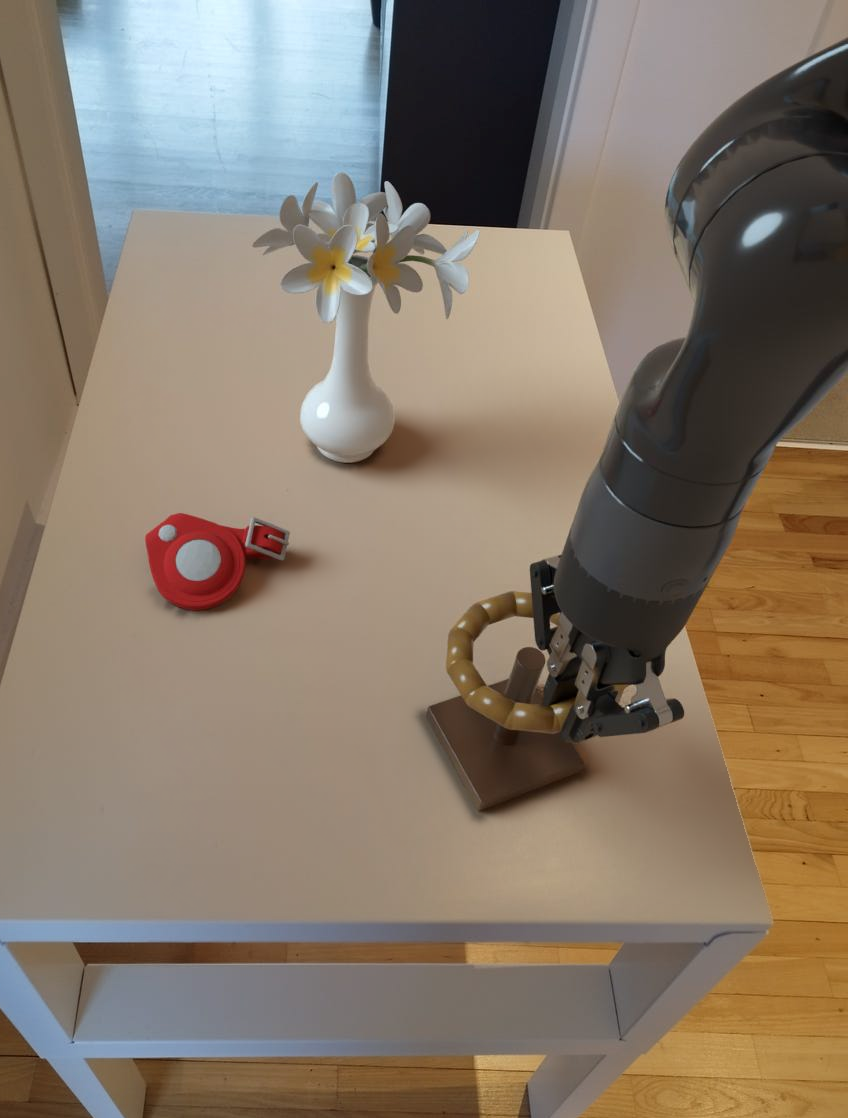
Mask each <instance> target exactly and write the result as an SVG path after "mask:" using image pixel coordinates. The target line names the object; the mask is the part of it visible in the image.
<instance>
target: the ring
mask: <svg viewBox="0 0 848 1118" xmlns="http://www.w3.org/2000/svg"><path fill="white" fill-rule="evenodd" d="M559 616H560V613H557V614H554V615H552V616H551V617H550V623H552V624H553V625H555V626H556V627H557V626H558V625H559V623H558V618H559ZM513 617H517V618H528V619H533V606H532V593H531V592H526V591H517V590H512V591H507V592H503V593H500V594H498V595H495V596H493V597H492V596H491V597H488V598H486V599H483V600H480V601H477V602H474V603H473V604H472V605H471V606H470V607H469V608H468V609H467V610H466V611H465V612H464V614H463V615H461V617H460V618H459V619H458V621H456V623H455V624H454V625H453V626H452V627H451V628H450V629H449V632H448V635H447V648H446V659H445V660H446V664H445V670H446V673H447V674H448V677H449V678H450V679H451V681H452V683H453V685H454V686H455V688H456V690H457V691H458V693H459V695H461V696H462V698H463V699H464V701H465V702H466V704H467V705H468V706H469V707H470V708H472V709H474V710H475V711H477V712H479V713H480V714H482V715H484V716H486V717H487V718H489V719H491V720H492V721H494V722H496V723H497V724H499V725H501V726H503V727H504V728H506V729H510V730H519V731H529V732H539V733H549V734H555V733H558V732H561V730H562V727H563V724H564V722H565V720H566V718H567V715H568V713H569V711H570V708H571V706H572V705H574V702H575V699H576V697H577V696H575V697H572V698H570V699H567V700H564V701H562V702H559V703H556V704H554V705H551V706H546V705H536V704H526V703H516V702H514V701H512V700H511V699H509V698H507V697H505V696H504V695H502V694H500V693H498V692H497V691H495V690H493V689H491V688H490V687H488V686H489V685H487V683H486V682H485V680H484V678H483V677H482V676H481V674H480V672H479V671H478V670H477V668H476V666H475V664H474V646H475V645H474V644H475V642H476V640H477V639H478V638H479V637H480V636H481V635H482V633H483V632H484V630H486V629H487V628H488V626H490V625H493V624H496V623H499V622H502V621H504V620H507V619H510V618H513Z"/></svg>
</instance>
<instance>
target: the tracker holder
mask: <svg viewBox="0 0 848 1118" xmlns="http://www.w3.org/2000/svg"><path fill="white" fill-rule="evenodd" d="M256 524H258V525H256ZM290 534H291V532H290V530H287V529H285V528H282V527H280V526H277V525H275V524H273V523H269V522H267V521H265V520H262V519H260V518H257V517H255V516H252V517H251V519H250V522H249V525H247V526H246V527H245V528H238V527H237V528H236V527H230V526H227V525H222V524H218V523H216V522H214V521H212V520H211V521H210V520H207V519H205V518H201V517H198V516H196V515H195V516H194V515H191V514H188V513H183V512H178V513H173V514H170V515H169V516H167V518H166V519H164V520H163V521H161V522H160V523H159V524H158V525H156V526H155V527H154V528H152V529H151V530H149V532H147V533H146V534H145V536H144V541H145V547H146V552H147V558H148V566H149V569H150V573H151V575H152V580H153V582H154V585H155V587H156V589H157V590H158V591H157V592H159V594H160V596H161V597H162V598H163V599H165V600H166V601H167V602H169V603H170V604H172V605H173V606H176V607H178V608H182V609H184V610H189V611H191V610H192V611H199V610H200V611H201V610H207V609H212V608H215V607H217V606H219V605H221V604H223V603H224V602H225V601H227V600H228V599H230V598H231V597H232V596H233V595H234V593H236V592H237V590H238V588H239V586H240V585H241V583H242V580H243V578H244V574H245V571H246V559H254V560H255V559H260V560H262V559H263V560H267V559H268V560H273V559H276V560H279V561H284V560H285V558H286V552H287V549H288V546H289V545H290V542H289V538H290Z"/></svg>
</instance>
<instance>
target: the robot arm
mask: <svg viewBox="0 0 848 1118" xmlns="http://www.w3.org/2000/svg"><path fill="white" fill-rule="evenodd" d="M664 222H665V229H666V234H667V238H668V240H669V243H670V246H671V248H672V251H673V253H674V256H675V259H676V260H677V263H678V266H679V268H680V270H681V273H682V275H683V278H684V281H685V283H686V286H687V288H688V290H689V293H690V295H691V298H692V301H693V306H692V313H691V318H690V322H689V326H688V330H687V334H686V336H685V337H678V338H675V339H671V340H669V341H667V342H664V343H662V344H660V345H658V346H656V347H655V348H653V349H652V350H650V351H649V352H648V353H647V354H646V355H645V356H643V358H642V359H641V360H640V362H638V364H637V365H636V366H635V368H634V370H633V372H632V374H631V375H630V377H629V380H628V381H627V384H626V385H625V388H624V390H623V392H622V394H621V397H620V400H619V403H618V405H617V408H616V410H615V411H616V412H615V414H614V417H613V420H612V422H611V424H610V425H611V426H610V429H609V432H608V434H607V437H606V440H605V443H604V446H603V449H602V452H601V454H600V455H599V459H598V461H597V462H596V465H595V467H594V468H593V470H592V471H591V474H590V475H589V477H588V479H587V481H586V484H585V486H584V488H583V490H582V493H581V496H580V500H579V501H578V506H577V508H576V510H575V514H574V517H573V520H572V523H571V526H570V528H569V530H568V531H569V532H568V535H567V537H566V539H565V544H564V547H563V549H562V552H561V554H558V555H553V556H551V557H546V558H543V559H541V560H539V561H536V562H532V563H530V565H529V579H530V591H531V592H530V593H532V606H533V618H532V620H533V630H534V641H535V644H536V647H537V649H538V650H540V651H541V652H542V651H543V652H544V651H547V653H548V659H547V661H546V668H547V672H548V675H547V678H546V680H545V684H544V685H543V690H542V698H543V701H542V704H541V705H546V706H551V705H554V704H556V703H559V702H562V701H564V700H567V699H570V698H572V697H575V696H577V697H576V699H575V702H574V705H572V706H571V708H570V711H569V713H568V715H567V718H566V720H565V722H564V724H563V727H562V730H561V732H560V735H561V736H562V738H563V739H564V741H565V742H566V743H569V742H572V743H573V744H574V745H577V744H581V743H582V742H585V741H587V740H590V739H592V738H595V737H599V738H607V737H608V738H609V737H617V736H626V735H637V734H646V733H648V732H649V733H650V732H651V731H654V730H656V729H660V728H661V727H664V726H667V725H669V724H672V723H675V722H677V721H680V720H682V719H684V718H685V709H684V705H683V704H682V702H681V701H679V699H677V698H668V699H666V696H665V693H664V690H663V687H662V684H661V681H660V679H659V677H660V676H661V675H662V673H663V672H664V671H665V667H666V651H667V649H668V647H669V646H670V645H671V644H672V642H673V641H674V640H675V639H676V638H677V637H678V635H679V634H680V633H681V632H682V631H683V629H684V628H685V627H686V624H687V623H688V621H689V619H690V617H691V616H692V614H693V613H694V610H695V609H696V607H697V606H698V603H699V601H700V599H701V597H702V596H703V594H704V592H705V590H706V588H707V586H708V585H709V583H710V581H711V580H712V577H713V576H714V574H715V572H716V570H717V569H718V566H719V565H720V563H721V562H722V560H723V558H724V556H725V554H726V552H727V550H728V548H729V546H730V544H731V543H732V540H733V538H734V535H735V533H736V530H737V528H738V525H739V521H740V519H741V515H742V512H743V510H744V508H745V506H746V504H747V501H748V500H749V498H750V496H751V494H752V492H753V491H754V489H755V487H756V485H757V484H758V482H759V480H760V478H761V476H762V475H763V472H764V470H765V468H766V466H767V465H768V463H769V461H770V459H771V458H772V455H773V454H774V451H775V449H776V447H777V445H778V444H779V443H780V441H781V440H782V439H783V438H784V437H785V436H786V435H787V434H789V433H790V431H792V429H794V428H795V427H796V426H797V425H799V423H801V421H803V420H804V419H805V418H806V417H807V416H808V415H809V414H811V412H812V411H813V410H814V409H815V408H816V406H817V405H818V404H820V403H821V401H822V400H823V399H824V398H825V397H827V395H828V394H829V393H830V392H832V390H834V389H835V387H836V386H838V384H839V383H841V381H842V380H843V379H844V378H845V377H847V375H848V36H847V37H845V38H843V39H840V40H839V41H837V42H834V43H833V44H831V45H829V46H827V47H825V48H822V49H821V50H819V51H817V52H815V53H813V54H811V55H809V56H807V57H805V58H803V59H801V60H800V61H798V62H796V63H794V64H792V65H790V66H788V67H786V68H784V69H782V70H781V71H779V72H778V73H776V74H774V75H772V76H770V77H768V78H767V79H766V80H764V81H762V82H761V83H759V84H758V85H756V86H754V87H753V88H751V89H750V90H748V91H747V92H746V93H744V94H743V95H742V96H740V97H739V98H738V99H736V100H735V101H734V102H733V103H731V104H730V105H729V106H728V107H727V108H726V109H724V110H723V111H722V112H721V113H720V114H719V115H718V116H716V117H715V118H714V120H712V122H710V124H709V125H707V127H705V129H704V130H702V132H701V133H700V134H699V135H698V136H697V137H696V139H695V140H694V141H693V142H692V144H691V145H690V147H688V149H687V150H686V152H685V154H684V155H683V156H682V158H681V160H680V161H679V163H678V165H677V166H676V169H675V170H674V172H673V174H672V176H671V180H670V182H669V185H668V188H667V191H666V196H665V203H664ZM557 613H560V616H559V618H558V623H559V625H558V626H557V625H556V626H554V627H551V622H550V617H551V616H552V615H554V614H557ZM629 686H635V687H636V688H635V689H636V692H635V694H634V695H632V696H631V697H630V703H629V704H625V705H624V707H623V706H622V705H621V704H620V702H621V699H622V696H623V694H624V691H625V690H626V689H627V687H629Z"/></svg>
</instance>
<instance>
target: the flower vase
mask: <svg viewBox="0 0 848 1118" xmlns="http://www.w3.org/2000/svg"><path fill="white" fill-rule="evenodd" d="M318 186H319V182H315V183H314V184H313V185H312V186H311V187H310V188H309V190H308V191H307V192H306V194H305V196H304V198H303V200H302V203H301V207H300V205H299V202H298V200H297V198H296V196H295V195H293V194H289V195H287V197H286V198H285V199H284V200H283V201H282V204H281V206H280V209H279V214H278V216H279V217H278V218H279V222H280V224H281V226H282V227H283V228H284V229H283V228H280V227H277V228H275V227H274V228H272V229H269V230H267V231H265V232H264V233H262V234H261V235H259V237H257V238H256V239H255V240H254V241H253V243H252V248H253V249H255V248H264V247H265V249H264V251H263V252H262V254H261V255H262V256H266V255H269V254H270V253H273V252H276V251H278V250H281V249H283V248H284V249H285V248H287V247H293V246H295V247H296V249H297V251H298V252H299V254H300V255H301V256H302V257H303V259H305V261H308V262H306V263H301V264H299V265H296V266H293V267H292V268H291V269H289V270H287V271H286V272H285V273H284V275H283V276H281V277H282V278H281V279H280V286H281V289H282V291H284V292H285V293H288V294H295V295H296V294H304V293H306V292H310V291H312V290H314V289H316V291H315V308H316V313H317V315H318V317H319V319H320V320H321V322H323V323H325V324H330V323H332V322H333V321H334V320H335V330H334V344H333V353H332V360H331V364H330V368H329V370H328V372H327V374H326V376H325V378H324V379H322V380H321V381H319V382H317V383H316V384H315V385H314V386H313V387H312V388H311V389H310V390H309V391H308V392H307V393H306V395H305V396H304V399H303V401H302V404H301V406H300V410H299V423H300V426H301V428H302V431H303V433H304V435H305V436H306V437H307V438H308V439H309V441H310V442H311V443H313V445H315V446H316V448H317V450H318V451H319V452H320V453H321V455H322V456H324V457H326V458H327V459H330V460H332V461H334V462H338V463H343V464H345V463H347V464H348V463H350V464H352V463H358V462H361V461H364V460H366V459H367V458H369V457H370V456H371V455H372V454H373V453H374V452H375V450H377V449H378V448H380V447H381V446H383V445H384V444H385V442H386V441H387V440H388V439H389V437H390V436H391V435H392V433H393V430H394V427H395V425H396V423H395V422H396V417H395V409H394V406H393V403H392V401H391V399H390V398H389V395H388V394H387V393H386V392H385V391H384V389H383V388H382V387H381V386H380V385H379V384H377V383H376V382H375V380H374V379H373V376H372V374H371V370H370V364H369V337H370V335H369V334H370V314H371V308H372V304H373V299H374V295H375V291H376V288H377V285H378V284H379V286H380V287H381V289H382V291H383V294H384V297H385V298H386V301H387V303H388V305H389V307H390V310H391V311H392V313H393V314H397V315H398V314H399V313H400V311H401V309H402V297H401V293H400V290H399V287H400V288H402V289H404V290H406V291H409V292H411V293H420V292H421V291H422V290H423V287H424V283H423V280H422V278H421V276H420V275H419V273H418V272H417V270H416V269H414V268H413V267H412V266H411V265H409V264H407V263H405V262H417V263H423V264H425V265H428V266H431V267H433V268H434V271H435V274H436V277H437V280H438V284H439V287H440V290H441V296H442V300H443V307H444V314H445V319H446V320H449V318H450V315H451V311H452V306H453V291H452V289H453V290H454V291H455V292H456V293H458V294H460V295H463V294H465V293H466V291H467V290H468V287H469V284H470V275H469V270H468V269H467V267H466V266H465V265H463V264H462V263H459V262H461V261H463V260H465V259H466V258H467V257H468V256H469V255H470V254H471V252H473V249H474V247H475V246H476V244H477V241H478V240H479V237H480V233H481V232H480V231H481V230H480V229H476V230H474V232H472V233H470V235H468V233H469V231H468V230H466V231H464V233H463V235H461V237H460V238H459V239H458V240H457V241H456V242H455V244H454V245H452V246H451V248H448V250H447V248H446V247H445V246H444V245H443V243H441V242H440V241H439V240H438V239H437V238H435V237H434V236H432V235H430V234H427V233H422V232H423V230H424V229H425V228H426V227H427V226H428V225H429V224H430V221H431V211H430V209H429V207H427V205H425V204H424V203H422V202H415V203H412V204H411V205H410V206H409V207H407V208H406V210H405V211H404V212H403V209H404V208H403V203H402V200H401V197H400V195H399V193H398V192H397V190H396V188H395V187H394V186H393V185H392V183H391V182H389V181H388V180H387V181H386V180H385V181H384V191H385V192H383V191H378V192H373V193H370V194H367V195H366V196H365V197H363V198H362V199H361V200H360V201H359V202H357V193H356V189H355V185H354V183H353V181H352V179H351V178H350V176H349V175H348V174H346V173H345V172H343V171H341V172H337V173H335V175H334V176H333V178H332V180H331V187H330V190H331V191H330V194H331V200H332V205H331V204H330V203H328V202H326V201H323V200H319V199H315V197H316V194H317V190H318ZM382 212H383V213H382ZM374 218H375V224H374V223H372V222H371V220H372V219H374ZM310 220H311V221H312V222H313V223H314V224H315V225H316V226H317V227H318V228H319V229H320V230H321V231H323V232H324V233H317V232H316V231H315V230H313V229H312V228H310V227H309V226H310ZM390 236H391V238H390ZM411 250H413V251H415V252H416V253H418V254H420V255H413V254H412V255H411V254H410V252H411ZM425 251H428V252H429V251H430V252H432V253H436V254H439V255H441V256H440V257H439V258H437V259H432V258H429V257H426V256H423V255H425ZM371 252H372V254H371V255H370V256H369V257H367V256H365V255H357V253H371ZM421 255H422V256H421Z"/></svg>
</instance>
